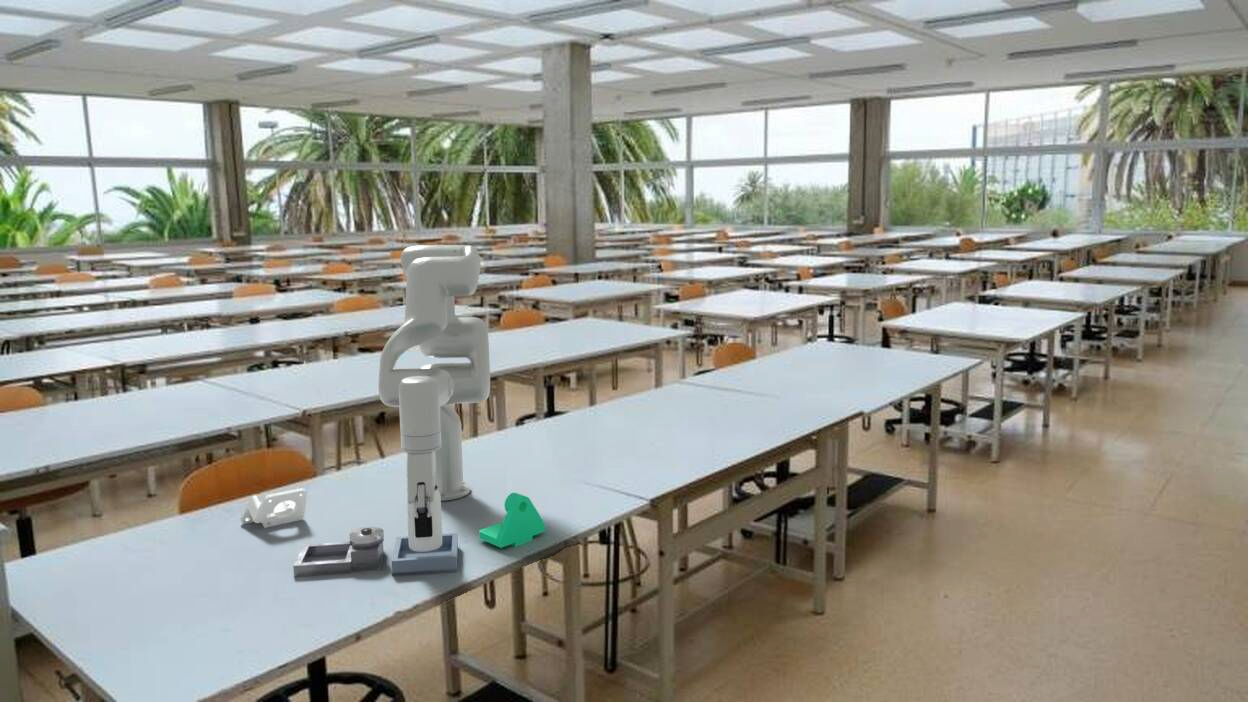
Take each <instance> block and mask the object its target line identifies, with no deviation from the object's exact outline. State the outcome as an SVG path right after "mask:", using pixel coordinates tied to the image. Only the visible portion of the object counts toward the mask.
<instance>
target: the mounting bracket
mask: <svg viewBox="0 0 1248 702" xmlns="http://www.w3.org/2000/svg"><path fill="white" fill-rule="evenodd" d="M306 500H307V489H305V488H304V487H300V488H296V489H291V490H290V489H289V490H285V491H281V492H276V493H270V494H267V495H265V496H264V497H263V499H262V500H261V501H260V500H259V498H258V496H257V495H252V496H251V497H250V499H249V501H248V503H247V504H246V506H245V509H244V510H243V512H242V513H241V516H240V518H239V519H240V522H241V523H242V524H243V525H247V524H251V523H255V524H259V523H261V524H262V525H263V526H262V527H264V528H265V529H266V528H270V527H276V526H279V525H284V524H289V523H294V522H298V521H301V520H303V519H304V518H305V514H306V513H305V512H306V502H307V501H306Z"/></svg>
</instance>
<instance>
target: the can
mask: <svg viewBox="0 0 1248 702" xmlns="http://www.w3.org/2000/svg"><path fill="white" fill-rule="evenodd" d="M427 496H428V495H427ZM417 501H418V498H417ZM425 501H428V498H425ZM425 507H427V504H425ZM406 516H407V517H406V520H407V536H408V542H409V548H410V549H411V550H412V551H414V552H418V553H426V552H432V551H435V550H437V549H439V548H440V547H441V546H442V534H443V526H442V525H443V523H442V519H443V518H442V501H441V496H440V493H439V491H438V486H437V485H435V492H434V499H433V501H432V502H431V503H430V516H432V532H433V535H432V537H421V538H416V537H415V500H414V502H411V504H409V503H408V502H407V501H406Z"/></svg>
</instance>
